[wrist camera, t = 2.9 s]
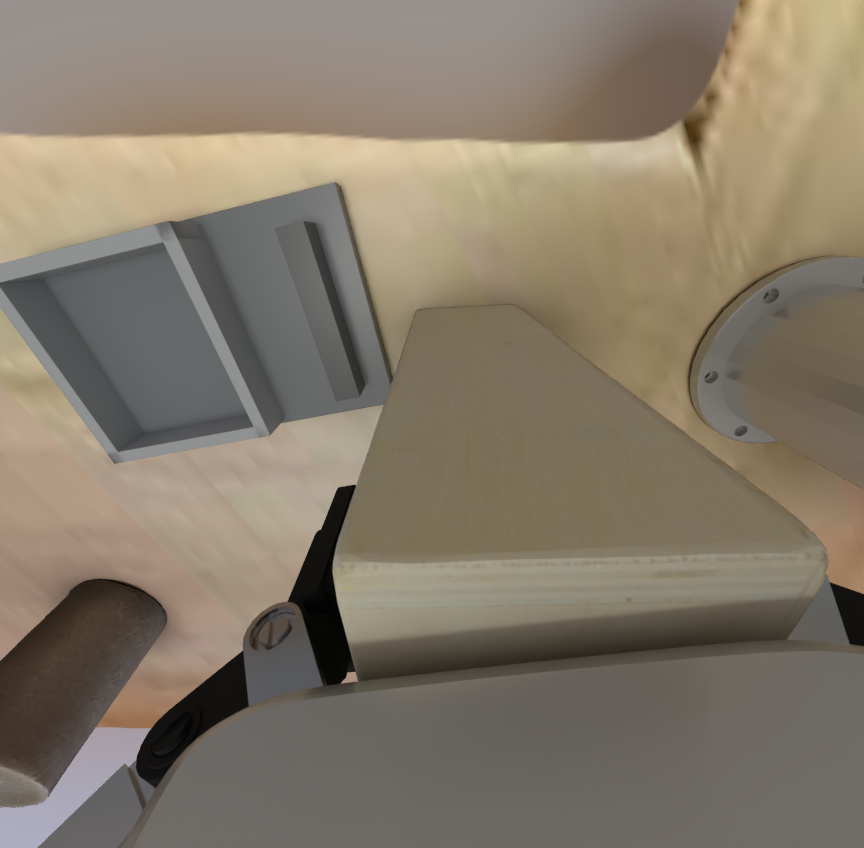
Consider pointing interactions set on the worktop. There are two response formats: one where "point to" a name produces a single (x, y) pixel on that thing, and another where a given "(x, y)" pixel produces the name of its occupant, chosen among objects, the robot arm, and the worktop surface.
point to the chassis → (205, 325)
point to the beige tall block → (548, 516)
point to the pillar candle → (68, 682)
